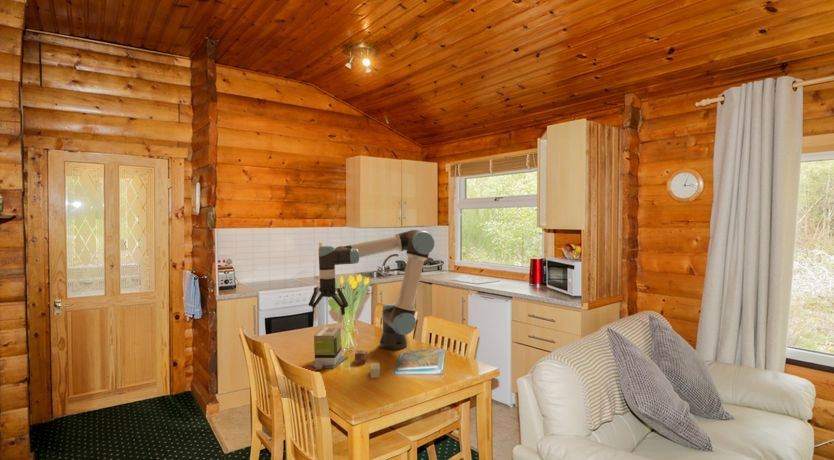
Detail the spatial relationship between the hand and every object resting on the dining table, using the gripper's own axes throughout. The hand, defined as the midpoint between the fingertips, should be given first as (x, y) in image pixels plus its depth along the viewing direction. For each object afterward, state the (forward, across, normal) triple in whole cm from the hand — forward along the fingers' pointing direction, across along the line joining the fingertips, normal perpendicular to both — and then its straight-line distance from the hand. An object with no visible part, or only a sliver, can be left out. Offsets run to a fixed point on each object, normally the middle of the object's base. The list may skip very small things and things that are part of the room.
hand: (328, 320), depth 226 cm
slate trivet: (+20, +1, 0) cm, 20 cm away
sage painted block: (+21, -27, +10) cm, 36 cm away
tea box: (+20, +1, 0) cm, 20 cm away
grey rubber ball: (+18, +1, +11) cm, 21 cm away
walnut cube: (+21, -14, -4) cm, 26 cm away
